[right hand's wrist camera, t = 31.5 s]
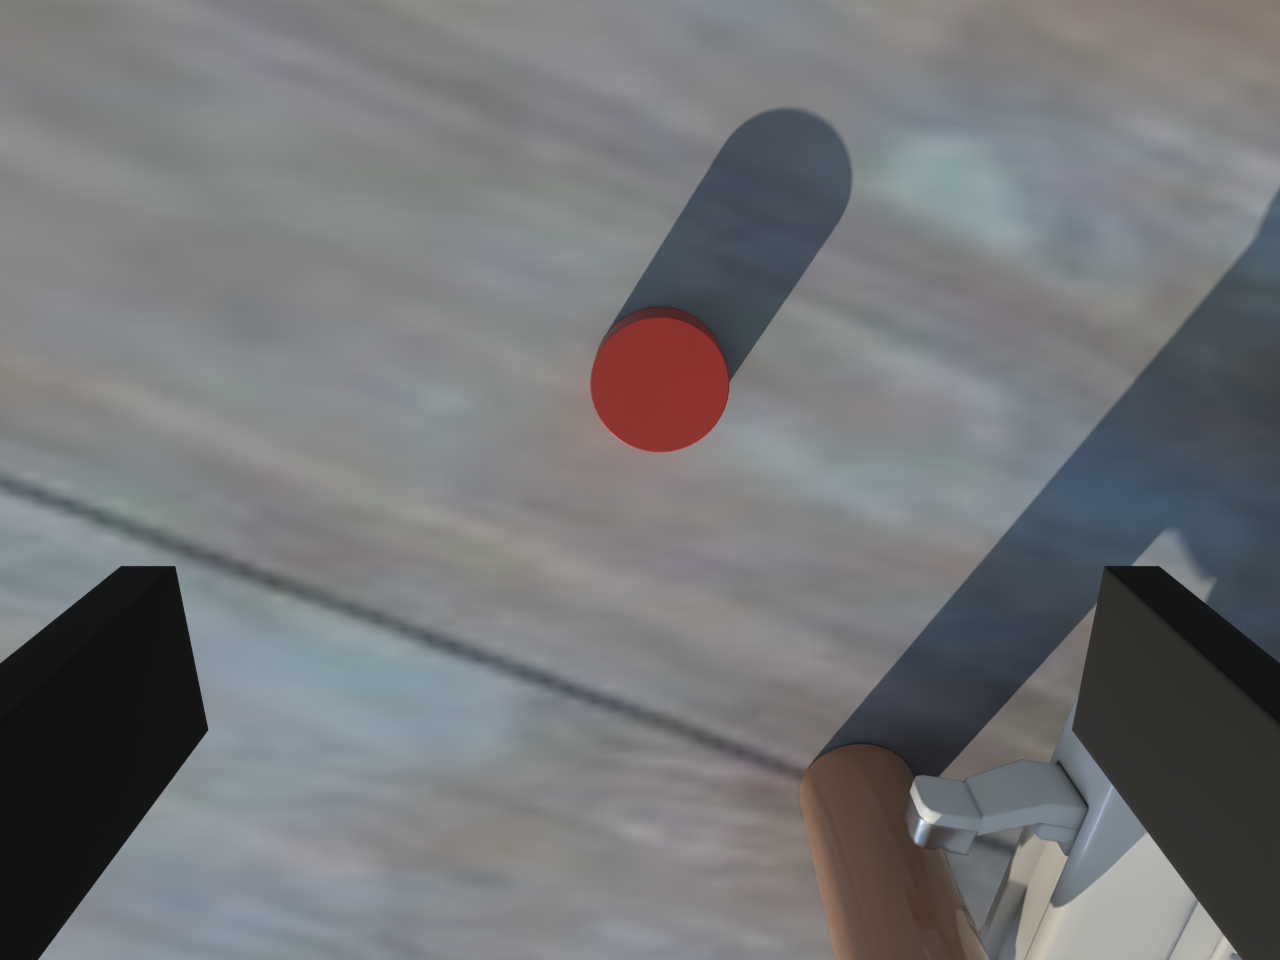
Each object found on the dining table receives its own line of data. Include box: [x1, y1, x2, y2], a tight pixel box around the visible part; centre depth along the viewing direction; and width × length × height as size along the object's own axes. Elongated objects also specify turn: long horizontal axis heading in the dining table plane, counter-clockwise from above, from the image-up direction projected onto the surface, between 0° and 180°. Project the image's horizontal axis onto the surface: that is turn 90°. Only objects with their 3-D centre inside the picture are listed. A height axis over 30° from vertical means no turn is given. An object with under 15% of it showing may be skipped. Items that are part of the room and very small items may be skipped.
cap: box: [590, 307, 729, 452], centre depth 30 cm, size 4×4×2 cm
